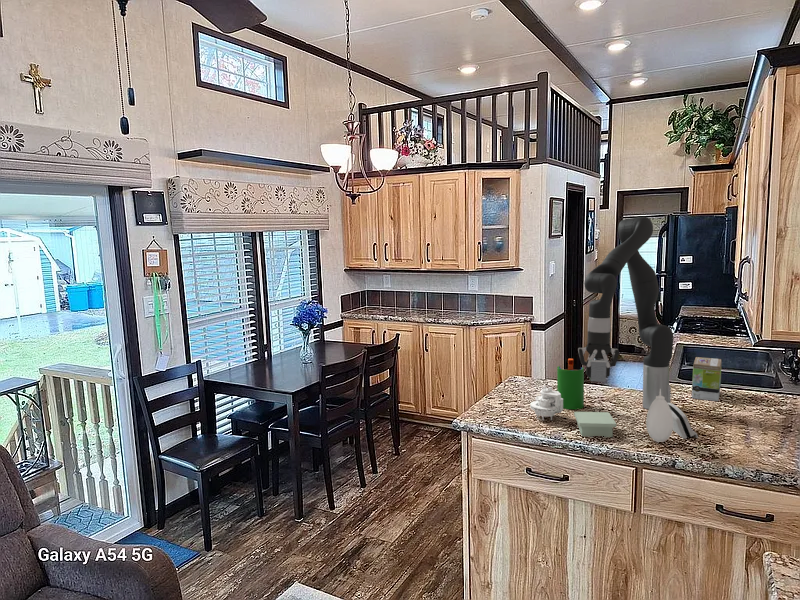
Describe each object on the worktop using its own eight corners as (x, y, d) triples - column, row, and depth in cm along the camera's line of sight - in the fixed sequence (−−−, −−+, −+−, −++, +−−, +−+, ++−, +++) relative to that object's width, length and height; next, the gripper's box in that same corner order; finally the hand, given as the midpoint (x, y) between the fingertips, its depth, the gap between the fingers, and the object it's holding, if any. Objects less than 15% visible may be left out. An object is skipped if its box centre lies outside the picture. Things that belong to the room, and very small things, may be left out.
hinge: (699, 438, 178) (689, 411, 177) (685, 443, 178) (675, 416, 178) (675, 421, 195) (666, 396, 194) (663, 425, 195) (654, 400, 194)
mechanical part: (524, 416, 206) (524, 386, 204) (549, 411, 210) (549, 382, 209) (543, 425, 195) (542, 393, 194) (569, 419, 200) (569, 389, 199)
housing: (602, 375, 196) (603, 354, 195) (605, 381, 187) (606, 360, 186) (588, 375, 197) (588, 354, 196) (590, 381, 188) (591, 359, 188)
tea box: (719, 402, 215) (720, 365, 213) (691, 398, 220) (692, 363, 218) (720, 392, 227) (721, 358, 226) (693, 389, 233) (694, 356, 231)
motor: (581, 402, 220) (581, 355, 217) (586, 409, 211) (586, 360, 208) (555, 402, 221) (555, 355, 218) (560, 409, 212) (560, 360, 209)
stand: (608, 425, 192) (608, 412, 192) (616, 438, 181) (616, 423, 180) (573, 424, 194) (574, 411, 194) (579, 437, 183) (579, 423, 182)
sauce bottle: (655, 435, 182) (656, 383, 180) (677, 442, 175) (678, 389, 173) (641, 440, 178) (642, 388, 176) (663, 448, 171) (664, 393, 169)
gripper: (618, 328, 190) (616, 375, 192) (576, 327, 193) (575, 373, 195) (622, 332, 183) (621, 380, 185) (579, 331, 186) (577, 379, 187)
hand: (597, 377), depth 190 cm, fingers closed on housing, 5 cm apart
